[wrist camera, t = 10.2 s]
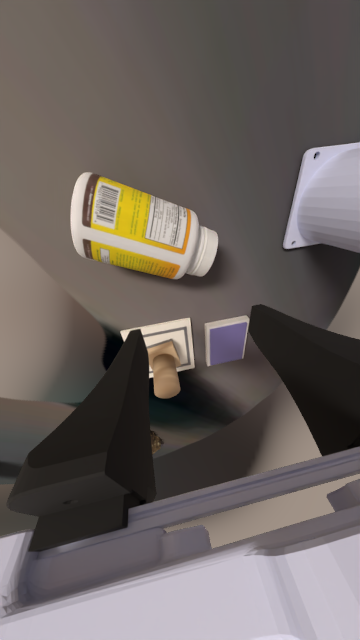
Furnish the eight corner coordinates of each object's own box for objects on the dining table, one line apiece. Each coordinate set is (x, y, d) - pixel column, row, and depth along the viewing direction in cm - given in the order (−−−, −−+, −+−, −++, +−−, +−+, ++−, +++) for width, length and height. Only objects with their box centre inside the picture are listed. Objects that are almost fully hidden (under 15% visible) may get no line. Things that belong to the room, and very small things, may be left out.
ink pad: (246, 315, 24) (250, 320, 23) (240, 354, 29) (244, 359, 28) (204, 323, 24) (207, 328, 23) (205, 361, 29) (208, 367, 28)
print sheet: (189, 317, 23) (190, 319, 23) (194, 366, 29) (194, 368, 28) (120, 330, 22) (120, 332, 22) (140, 378, 28) (139, 380, 28)
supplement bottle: (88, 244, 16) (190, 272, 19) (68, 266, 12) (203, 297, 15) (91, 170, 13) (210, 216, 16) (64, 162, 9) (234, 228, 12)
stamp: (171, 338, 24) (179, 375, 19) (179, 356, 26) (187, 394, 21) (144, 347, 24) (144, 386, 19) (154, 364, 26) (157, 404, 21)
